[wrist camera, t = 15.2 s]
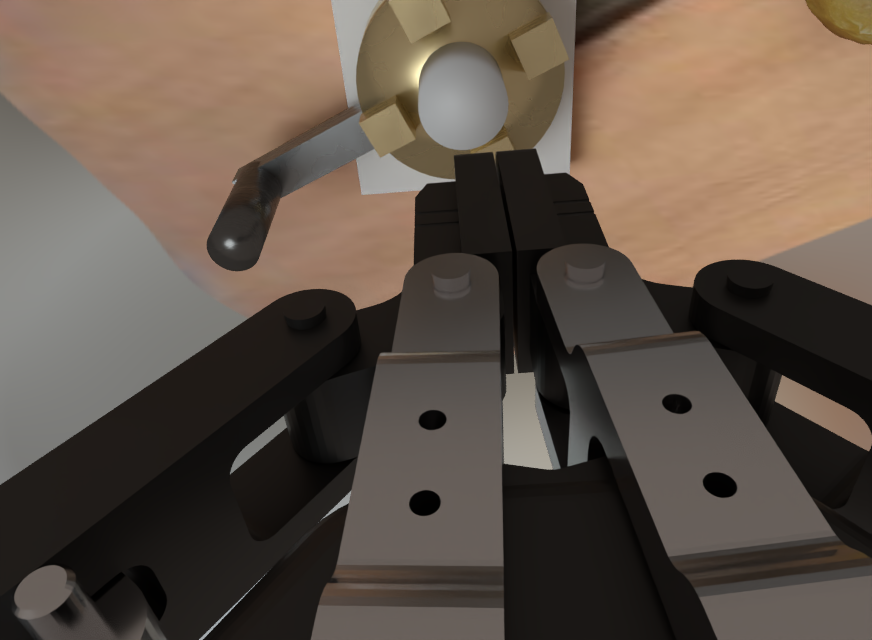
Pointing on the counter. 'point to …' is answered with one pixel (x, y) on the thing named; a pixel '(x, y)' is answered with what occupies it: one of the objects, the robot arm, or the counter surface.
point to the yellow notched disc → (402, 107)
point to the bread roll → (845, 18)
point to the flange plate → (411, 178)
